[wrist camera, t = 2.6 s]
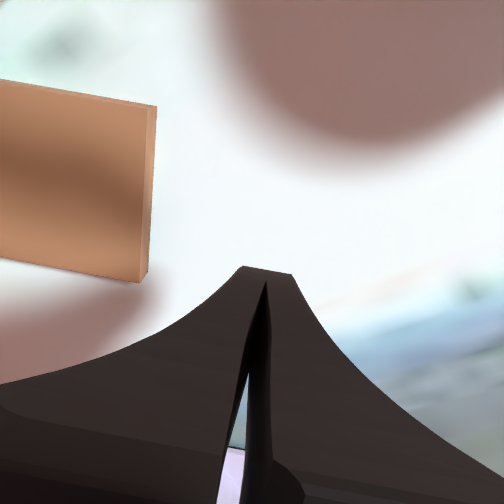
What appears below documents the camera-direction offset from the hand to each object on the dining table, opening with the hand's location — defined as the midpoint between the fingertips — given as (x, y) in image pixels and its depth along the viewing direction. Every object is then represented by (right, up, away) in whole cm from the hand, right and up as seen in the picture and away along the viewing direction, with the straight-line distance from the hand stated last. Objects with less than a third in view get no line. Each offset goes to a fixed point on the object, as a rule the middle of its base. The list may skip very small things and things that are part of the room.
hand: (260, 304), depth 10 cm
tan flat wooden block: (-9, +5, +7) cm, 12 cm away
